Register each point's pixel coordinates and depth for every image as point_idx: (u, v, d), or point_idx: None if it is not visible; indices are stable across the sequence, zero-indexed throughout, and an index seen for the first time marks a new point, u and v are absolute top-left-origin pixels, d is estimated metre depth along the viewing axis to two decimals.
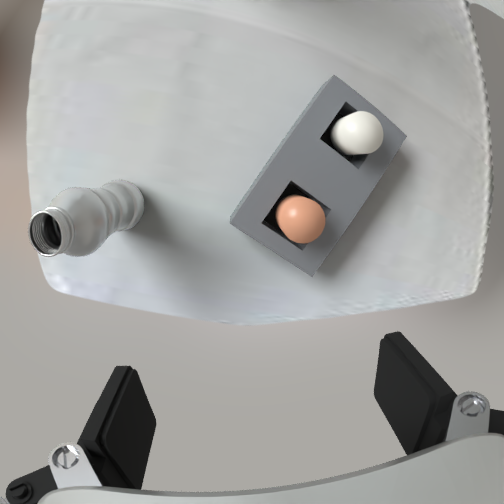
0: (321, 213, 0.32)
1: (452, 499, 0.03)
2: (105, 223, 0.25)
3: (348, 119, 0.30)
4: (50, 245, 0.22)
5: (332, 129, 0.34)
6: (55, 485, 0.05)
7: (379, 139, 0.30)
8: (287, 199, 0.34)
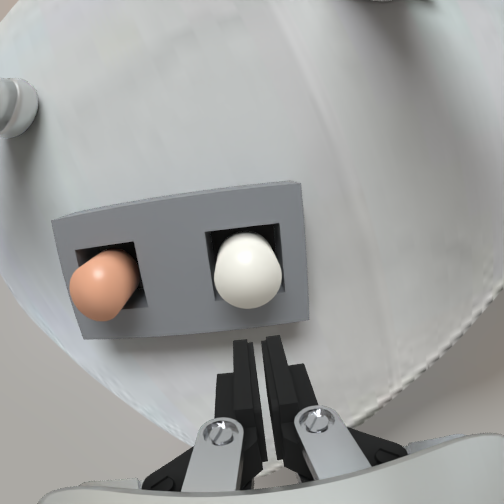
0: (118, 305, 0.22)
1: (452, 499, 0.03)
2: None
3: (244, 247, 0.21)
4: None
5: (232, 235, 0.25)
6: (192, 452, 0.07)
7: (258, 301, 0.22)
8: (110, 255, 0.24)
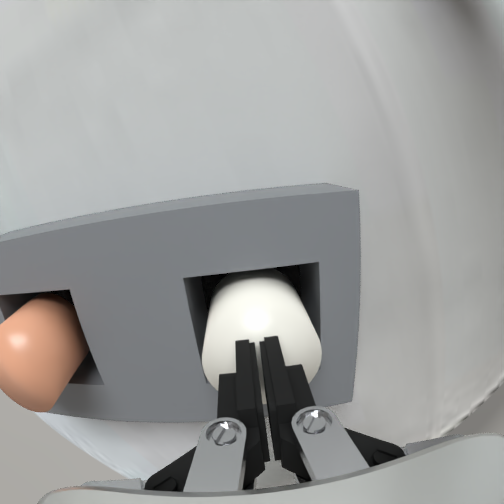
0: (50, 397, 0.11)
1: (452, 499, 0.03)
2: None
3: (256, 313, 0.11)
4: None
5: (234, 275, 0.15)
6: (194, 452, 0.07)
7: None
8: (37, 312, 0.13)
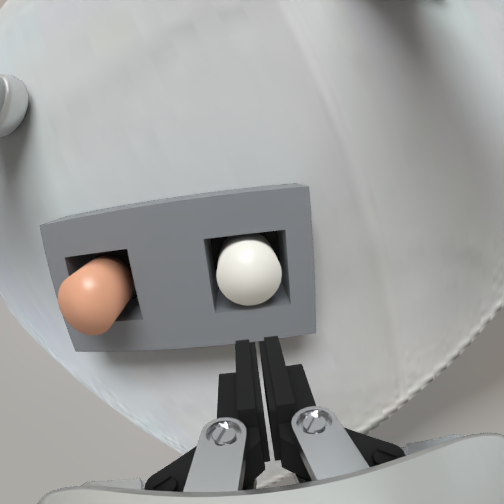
0: (110, 319, 0.20)
1: (452, 499, 0.03)
2: None
3: (245, 246, 0.22)
4: None
5: (233, 235, 0.26)
6: (194, 452, 0.07)
7: (259, 298, 0.23)
8: (102, 264, 0.22)
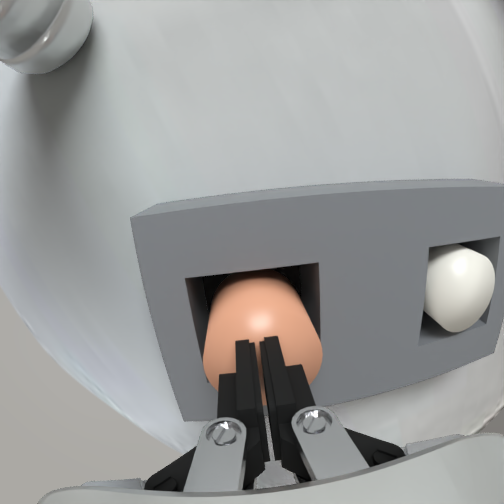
0: (308, 377, 0.12)
1: (452, 499, 0.03)
2: None
3: (473, 257, 0.14)
4: None
5: None
6: (194, 452, 0.07)
7: (469, 322, 0.15)
8: (275, 285, 0.14)
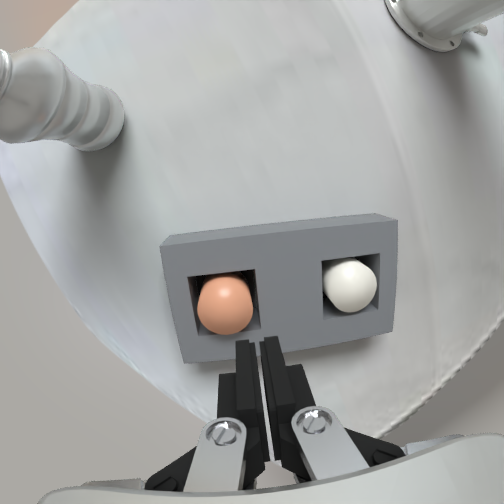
0: (247, 319, 0.27)
1: (452, 499, 0.03)
2: (39, 126, 0.14)
3: (354, 266, 0.27)
4: None
5: None
6: (194, 452, 0.07)
7: (358, 306, 0.28)
8: (232, 275, 0.28)
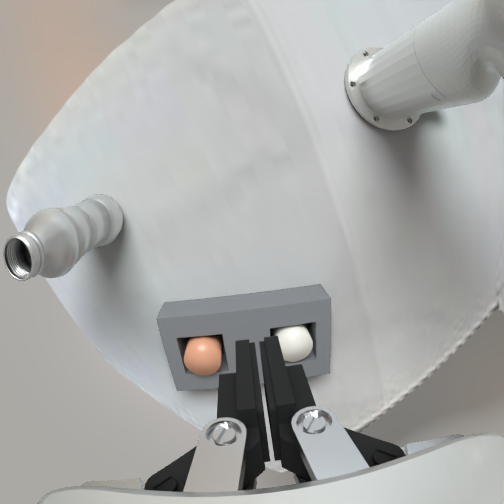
0: (217, 366, 0.38)
1: (452, 499, 0.03)
2: (68, 270, 0.25)
3: (293, 332, 0.38)
4: (17, 255, 0.21)
5: None
6: (194, 452, 0.07)
7: (299, 357, 0.39)
8: (207, 335, 0.39)
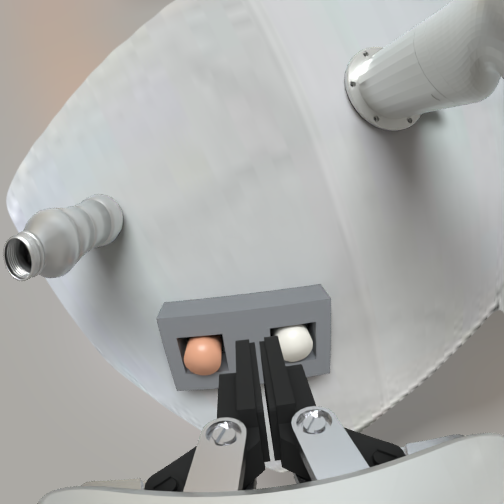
0: (217, 366, 0.38)
1: (452, 499, 0.03)
2: (68, 270, 0.25)
3: (293, 332, 0.38)
4: (17, 255, 0.21)
5: None
6: (194, 452, 0.07)
7: (299, 357, 0.39)
8: (207, 335, 0.39)
